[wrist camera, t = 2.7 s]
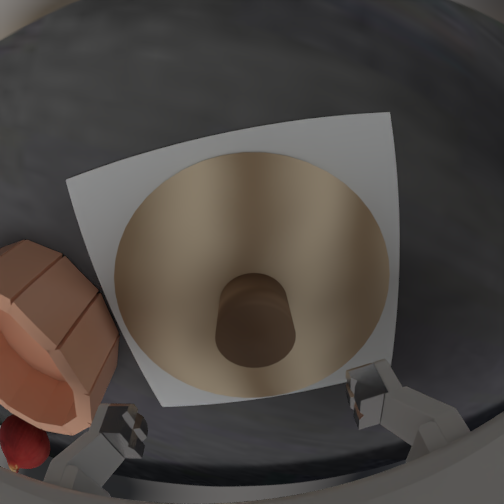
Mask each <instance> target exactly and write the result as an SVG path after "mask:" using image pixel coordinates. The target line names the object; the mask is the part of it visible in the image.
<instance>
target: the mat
mask: <svg viewBox="0 0 504 504" xmlns="http://www.w3.org/2000/svg"><path fill="white" fill-rule="evenodd" d="M240 152H267V153H274V154H280V155H286V156H289V157H293V158H296V159H299V160H303V161H306V162H308V163H310V164H312V165H314V166H316V167H318V168H321V169H323V170H325V171H327V172H329V173H330V174H332V175H333V176H335V177H336V178H337V179H339V180H340V181H342V182H343V183H345V184H346V185H347V186H348V187H349V188H350V189H351V190H352V191H353V192H355V193H356V194H357V195H358V196H359V197H360V199H361V200H362V201H363V202H364V204H365V205H366V206H367V207H368V209H369V210H370V211H371V213H372V215H373V216H374V218H375V220H376V222H377V224H378V225H379V227H380V230H381V233H382V235H383V238H384V241H385V244H386V248H387V253H388V258H389V272H390V277H389V288H388V294H387V298H386V303H385V306H384V309H383V312H382V314H381V317H380V320H379V322H378V323H377V325H376V327H375V329H374V331H373V333H372V334H371V336H370V337H369V339H368V340H367V341H366V343H365V344H364V346H363V347H362V348H361V349H360V350H359V351H358V352H357V353H356V354H355V356H354V357H353V358H351V359H350V360H349V361H348V362H347V363H346V364H345V365H343V366H342V367H341V368H340V369H338V370H337V371H335V372H334V373H332V374H331V375H329V376H328V377H326V378H324V379H322V380H321V381H319V382H317V383H315V384H312V385H310V386H308V387H305V388H303V389H300V390H297V391H293V392H290V393H286V394H291V393H297V392H302V391H307V390H312V389H317V388H322V387H327V386H331V385H335V384H340V383H344V382H347V380H346V370H349V369H352V368H355V367H359V366H362V365H365V364H368V363H372V362H375V361H378V360H381V359H386V360H387V362H388V363H389V365H390V367H391V361H392V354H393V346H394V337H395V327H396V316H397V303H398V287H399V257H400V228H399V198H398V181H397V168H396V157H395V148H394V139H393V131H392V124H391V117H390V112H383V113H365V114H352V115H340V116H330V117H321V118H312V119H304V120H297V121H290V122H283V123H276V124H270V125H264V126H258V127H253V128H247V129H242V130H237V131H232V132H227V133H222V134H217V135H213V136H208V137H204V138H200V139H195V140H191V141H187V142H183V143H179V144H175V145H172V146H168V147H164V148H160V149H157V150H153V151H150V152H146V153H143V154H140V155H136V156H133V157H130V158H127V159H123V160H120V161H117V162H114V163H111V164H108V165H105V166H102V167H99V168H96V169H94V170H91V171H88V172H85V173H82V174H80V175H77V176H74V177H72V178H69V179H67V180H66V183H67V187H68V190H69V194H70V197H71V201H72V204H73V208H74V211H75V214H76V218H77V221H78V224H79V227H80V230H81V233H82V236H83V239H84V242H85V245H86V248H87V250H88V253H89V256H90V259H91V261H92V264H93V267H94V269H95V272H96V274H97V277H98V279H99V282H100V284H101V287H102V289H103V291H104V294H105V296H106V299H107V301H108V303H109V305H110V308H111V310H112V312H113V314H114V317H115V319H116V321H117V323H118V325H119V327H120V329H121V332H122V334H123V336H124V338H125V340H126V342H127V344H128V346H129V348H130V350H131V352H132V354H133V356H134V357H135V359H136V361H137V363H138V365H139V367H140V369H141V371H142V372H143V374H144V376H145V378H146V380H147V381H148V383H149V385H150V387H151V388H152V390H153V392H154V394H155V395H156V397H157V399H158V400H159V402H160V404H161V405H162V407H173V406H192V405H206V404H218V403H228V402H237V401H245V400H253V399H260V398H267V397H260V398H241V397H230V396H224V395H218V394H214V393H210V392H207V391H203V390H200V389H198V388H195V387H193V386H190V385H188V384H186V383H184V382H182V381H180V380H178V379H176V378H174V377H173V376H171V375H170V374H168V373H167V372H165V371H164V370H162V369H161V368H160V367H159V366H158V365H156V364H155V363H154V362H153V361H152V360H151V359H150V358H149V357H148V356H147V355H146V354H145V353H144V352H143V351H142V350H141V349H140V347H139V346H138V345H137V343H136V342H135V340H134V339H133V338H132V336H131V335H130V333H129V331H128V329H127V327H126V325H125V323H124V321H123V319H122V316H121V313H120V311H119V308H118V303H117V299H116V294H115V285H114V269H115V259H116V254H117V250H118V246H119V243H120V240H121V237H122V235H123V232H124V230H125V227H126V226H127V224H128V222H129V221H130V219H131V217H132V216H133V214H134V212H135V211H136V210H137V208H138V207H139V206H140V205H141V203H142V202H143V201H144V200H145V199H146V197H147V196H148V195H149V194H151V193H152V192H153V191H154V190H155V189H156V188H157V187H158V186H160V185H161V184H162V183H163V182H165V181H166V180H168V179H169V178H171V177H172V176H174V175H175V174H177V173H178V172H180V171H182V170H183V169H185V168H188V167H190V166H192V165H194V164H196V163H198V162H201V161H203V160H207V159H210V158H214V157H217V156H221V155H226V154H233V153H240ZM286 394H281V395H286ZM277 396H280V395H277ZM270 397H273V396H270Z"/></svg>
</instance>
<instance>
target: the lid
mask: <svg viewBox="0 0 504 504" xmlns="http://www.w3.org/2000/svg"><path fill="white" fill-rule="evenodd" d="M389 277H390V272H389V258H388V253H387V248H386V244H385V241H384V238H383V235H382V233H381V230H380V227H379V225H378V224H377V222H376V220H375V218H374V216H373V215H372V213H371V211H370V210H369V209H368V207H367V206H366V205H365V204H364V202H363V201H362V200H361V199H360V197H359V196H358V195H357V194H356V193H355V192H353V191H352V190H351V189H350V188H349V187H348V186H347V185H346V184H345V183H343V182H342V181H340V180H339V179H337V178H336V177H335V176H333V175H332V174H330V173H329V172H327V171H325V170H323V169H321V168H318V167H316V166H314V165H312V164H310V163H308V162H306V161H303V160H299V159H296V158H293V157H289V156H286V155H280V154H274V153H267V152H240V153H233V154H226V155H221V156H217V157H214V158H210V159H207V160H203V161H201V162H198V163H196V164H194V165H192V166H190V167H188V168H185V169H183V170H182V171H180V172H178V173H177V174H175V175H174V176H172V177H171V178H169V179H168V180H166V181H165V182H163V183H162V184H161V185H160V186H158V187H157V188H156V189H155V190H154V191H153V192H152V193H151V194H149V195H148V196H147V197H146V199H145V200H144V201H143V202H142V203H141V205H140V206H139V207H138V208H137V210H136V211H135V212H134V214H133V216H132V217H131V219H130V221H129V222H128V224H127V226H126V227H125V230H124V232H123V235H122V237H121V240H120V243H119V246H118V250H117V254H116V259H115V269H114V285H115V294H116V299H117V303H118V308H119V311H120V313H121V316H122V319H123V321H124V323H125V325H126V327H127V329H128V331H129V333H130V335H131V336H132V338H133V339H134V340H135V342H136V343H137V345H138V346H139V347H140V349H141V350H142V351H143V352H144V353H145V354H146V355H147V356H148V357H149V358H150V359H151V360H152V361H153V362H154V363H155V364H156V365H158V366H159V367H160V368H161V369H162V370H164V371H165V372H167V373H168V374H170V375H171V376H173V377H174V378H176V379H178V380H180V381H182V382H184V383H186V384H188V385H190V386H193V387H195V388H198V389H200V390H203V391H207V392H210V393H214V394H218V395H224V396H230V397H241V398H260V397H270V396H277V395H281V394H286V393H290V392H293V391H297V390H300V389H303V388H305V387H308V386H310V385H312V384H315V383H317V382H319V381H321V380H322V379H324V378H326V377H328V376H329V375H331V374H332V373H334V372H335V371H337V370H338V369H340V368H341V367H342V366H343V365H345V364H346V363H347V362H348V361H349V360H350V359H351V358H353V357H354V356H355V354H356V353H357V352H358V351H359V350H360V349H361V348H362V347H363V346H364V344H365V343H366V341H367V340H368V339H369V337H370V336H371V334H372V333H373V331H374V329H375V327H376V325H377V323H378V322H379V320H380V317H381V314H382V312H383V309H384V306H385V303H386V298H387V294H388V288H389Z"/></svg>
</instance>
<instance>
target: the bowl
mask: <svg viewBox="0 0 504 504" xmlns="http://www.w3.org/2000/svg"><path fill="white" fill-rule="evenodd" d="M98 291H99V290H98V289H97V288H96V287H95V286H94V285H93V284H92V283H91V282H90V281H89V280H88V279H87V278H86V277H85V276H84V275H83V274H82V273H81V272H80V271H79V270H78V269H77V268H76V267H75V266H74V264H73V263H72V262H71V261H70V260H69V259H68V258H67V257H66V256H64V257H63V258H62V253H59V252H57V251H54V250H52V249H49V248H47V247H44V246H42V245H39V244H37V243H34V242H32V241H29V240H25V239H24V240H22V241H19V242H16V243H13V244H10V245H7V246H5V247H2V248H0V404H1V405H2V406H3V407H4V408H6V409H7V410H8V409H9V412H11V413H13V414H14V415H16V416H18V417H19V418H21V419H23V420H25V421H26V422H28V423H30V424H32V425H34V426H36V427H37V428H39V429H41V428H42V430H45V431H49V432H55V433H60V434H66V435H75V434H77V433H79V432H80V431H82V430H84V429H86V428H88V427H89V426H91V424H92V421H93V419H94V416H95V414H96V411H97V409H98V406H99V405H100V403H101V401H102V399H103V396H104V394H105V392H106V389H107V387H108V385H109V382H110V380H111V378H112V376H113V373H114V371H115V369H116V367H117V359H118V347H119V337H120V335H118V334H119V332H118V330H117V328H116V325H115V323H114V321H113V319H112V317H111V315H110V312H109V310H108V308H107V306H106V304H105V301H104V299H103V297H102V294H101V293H98V294H97V292H98Z"/></svg>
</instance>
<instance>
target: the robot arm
mask: <svg viewBox="0 0 504 504" xmlns="http://www.w3.org/2000/svg"><path fill="white" fill-rule="evenodd" d="M346 380H347V382H348V383H347V384H346V395H347V399H348V403H349V406H350V408H352V409H353V410H354V419H355V422H356V424H357V427H358V429H359V430H360V429H363V428H367V427H370V426H373V425H377V424H381V425H382V426H383V427H385V428H386V429H388V430H389V431H391V432H392V433H394V434H395V435H397V436H398V437H399V438H401V439H402V440H404V441H405V442H407V443H408V444H410V445H411V446H412V447H411V450H410V452H409V455H408V457H407V459H406V463H405V464H403V465H400V466H397V467H395V468H392V469H389V470H386V471H384V472H381V473H378V474H375V475H372V476H369V477H366V478H363V479H359V480H356V481H353V482H349V483H346V484H342V485H338V486H334V487H330V488H326V489H322V490H317V491H313V492H308V493H303V494H297V495H292V496H286V497H279V498H272V499H265V500H257V501H246V502H234V503H214V504H504V411H503V412H502V413H500V414H499V415H497V416H496V417H494V418H493V419H491V420H490V421H488V422H486V423H485V424H483V425H481V426H480V427H478V428H476V429H475V430H473V431H471V432H470V430H469V429H468V427H467V425H466V424H465V422H464V421H463V419H462V417H461V416H460V414H459V413H458V411H457V410H456V408H454V407H452V406H449V405H447V404H445V403H442V402H440V401H438V400H436V399H433V398H431V397H429V396H427V395H424V394H422V393H420V392H418V391H416V390H414V389H411V388H409V387H407V386H405V387H402V385H401V384H400V382H399V380H398V378H397V377H396V375H395V373H394V372H393V370H392V368H391V367H390V365H389V363H388V362H387V360H386V359H381V360H378V361H375V362H372V363H368V364H365V365H362V366H359V367H355V368H352V369H349V370H346ZM137 411H138V409H137V407H136V406H135V405H134V404H100V405H99V406H98V409H97V411H96V414H95V416H94V419H93V421H92V424H91V426H90V429H89V432H85V433H84V434H83V435H81V436H80V437H79V438H78V439H77V440H75V441H74V442H73V443H72V444H71V445H70V446H68V447H67V448H66V449H65V450H63V451H62V452H61V453H60V454H59V455H57V456H56V457H55V458H54V459H53V460H52V461H51V463H50V466H49V468H48V471H47V474H46V476H45V479H44V481H43V482H42V481H39V480H36V479H33V478H30V477H27V476H24V475H21V474H19V473H16V472H13V471H11V470H8V469H5V468H3V467H1V466H0V504H176V503H155V502H144V501H135V500H126V499H119V498H112V497H110V495H109V493H108V492H107V491H105V490H104V489H103V488H101V487H102V485H103V484H104V483H105V481H106V480H108V478H109V477H110V476H111V475H112V474H113V472H114V471H115V470H116V469H117V468H118V466H119V465H120V464H121V463H122V462H123V460H124V458H142V457H143V452H144V448H145V445H144V443H143V440H144V439H145V438H146V437H147V434H148V427H147V423H146V420H145V419H144V417H143V416H142V415H140V414H138V413H137Z"/></svg>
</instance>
